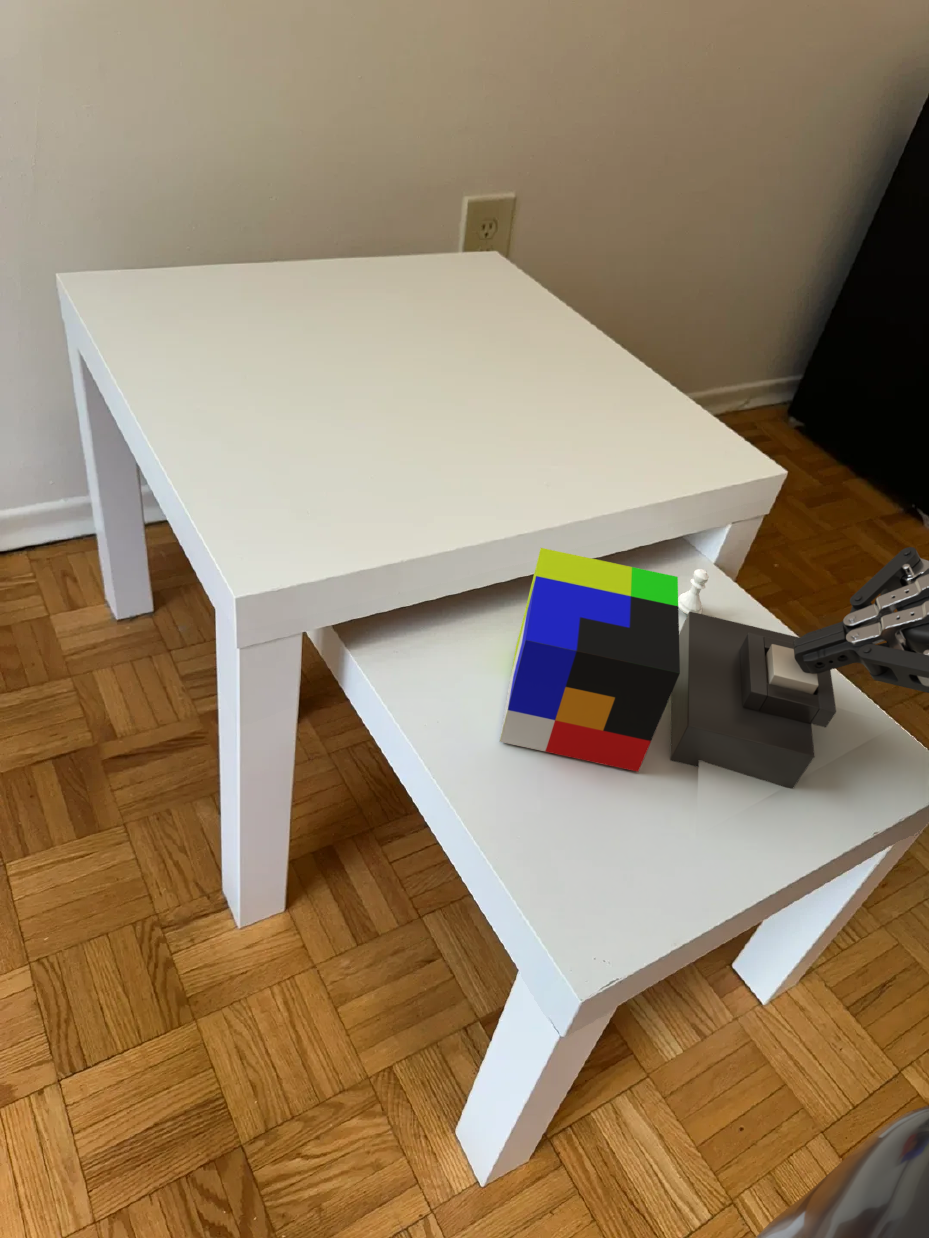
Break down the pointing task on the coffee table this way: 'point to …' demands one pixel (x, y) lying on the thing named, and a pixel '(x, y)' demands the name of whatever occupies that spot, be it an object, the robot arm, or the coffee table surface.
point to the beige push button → (788, 671)
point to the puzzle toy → (593, 660)
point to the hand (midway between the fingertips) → (798, 657)
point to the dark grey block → (742, 704)
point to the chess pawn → (693, 593)
